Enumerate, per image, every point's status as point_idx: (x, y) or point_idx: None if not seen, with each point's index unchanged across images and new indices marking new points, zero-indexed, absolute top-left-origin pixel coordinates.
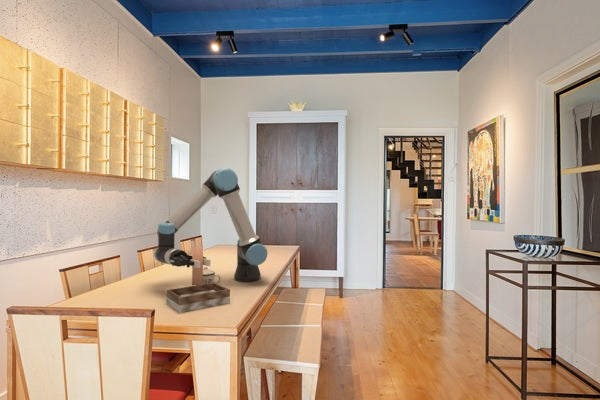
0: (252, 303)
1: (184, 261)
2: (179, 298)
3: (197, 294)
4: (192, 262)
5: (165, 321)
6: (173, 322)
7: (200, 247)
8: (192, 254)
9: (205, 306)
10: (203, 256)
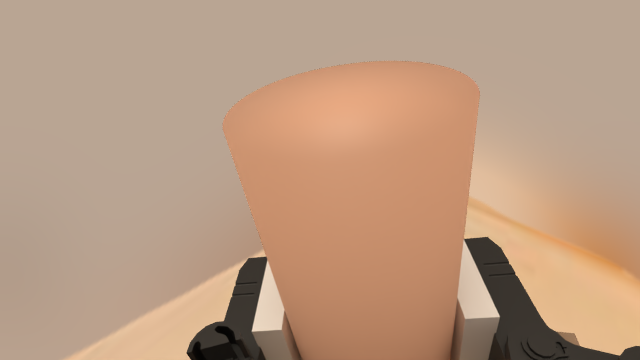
0: (214, 280)
1: (627, 356)
2: (574, 337)
3: None
4: (482, 240)
5: (630, 315)
6: (585, 283)
7: (320, 78)
8: (462, 247)
9: None
10: (207, 326)
